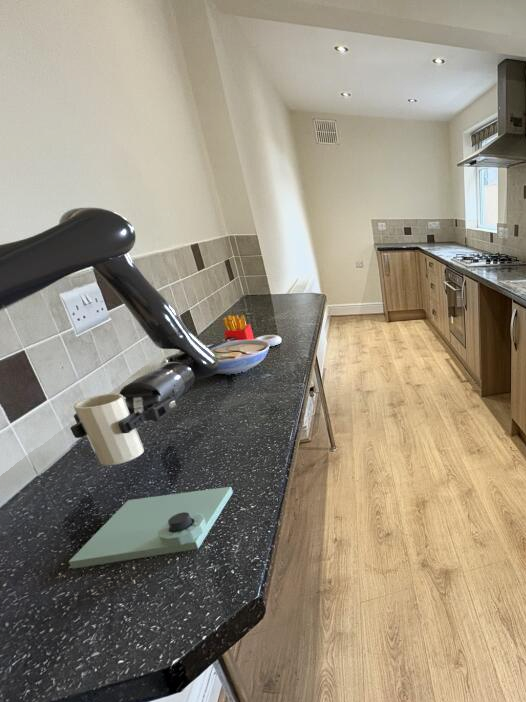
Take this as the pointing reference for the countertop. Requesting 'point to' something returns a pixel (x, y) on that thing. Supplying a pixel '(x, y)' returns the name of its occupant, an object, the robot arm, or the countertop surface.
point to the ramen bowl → (238, 354)
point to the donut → (270, 339)
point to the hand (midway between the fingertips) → (99, 430)
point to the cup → (108, 429)
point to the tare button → (180, 522)
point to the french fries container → (237, 328)
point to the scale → (153, 527)
